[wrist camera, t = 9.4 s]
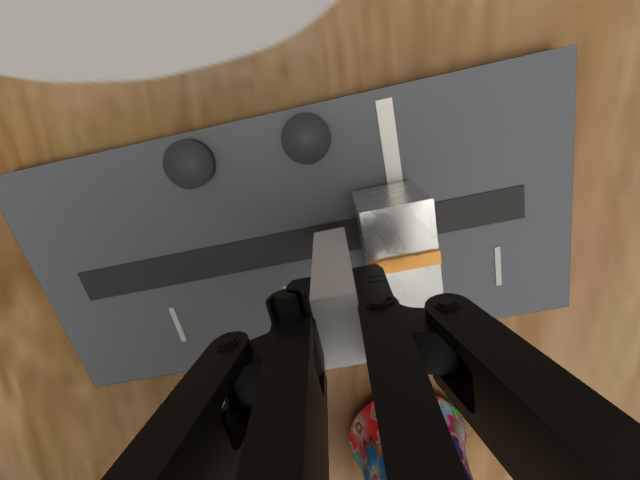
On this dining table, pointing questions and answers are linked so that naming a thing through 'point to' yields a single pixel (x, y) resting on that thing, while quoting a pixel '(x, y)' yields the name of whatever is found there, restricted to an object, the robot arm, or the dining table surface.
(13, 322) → the dining table surface
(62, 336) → the dining table surface
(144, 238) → the console
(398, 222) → the fader tab
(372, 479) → the mug
